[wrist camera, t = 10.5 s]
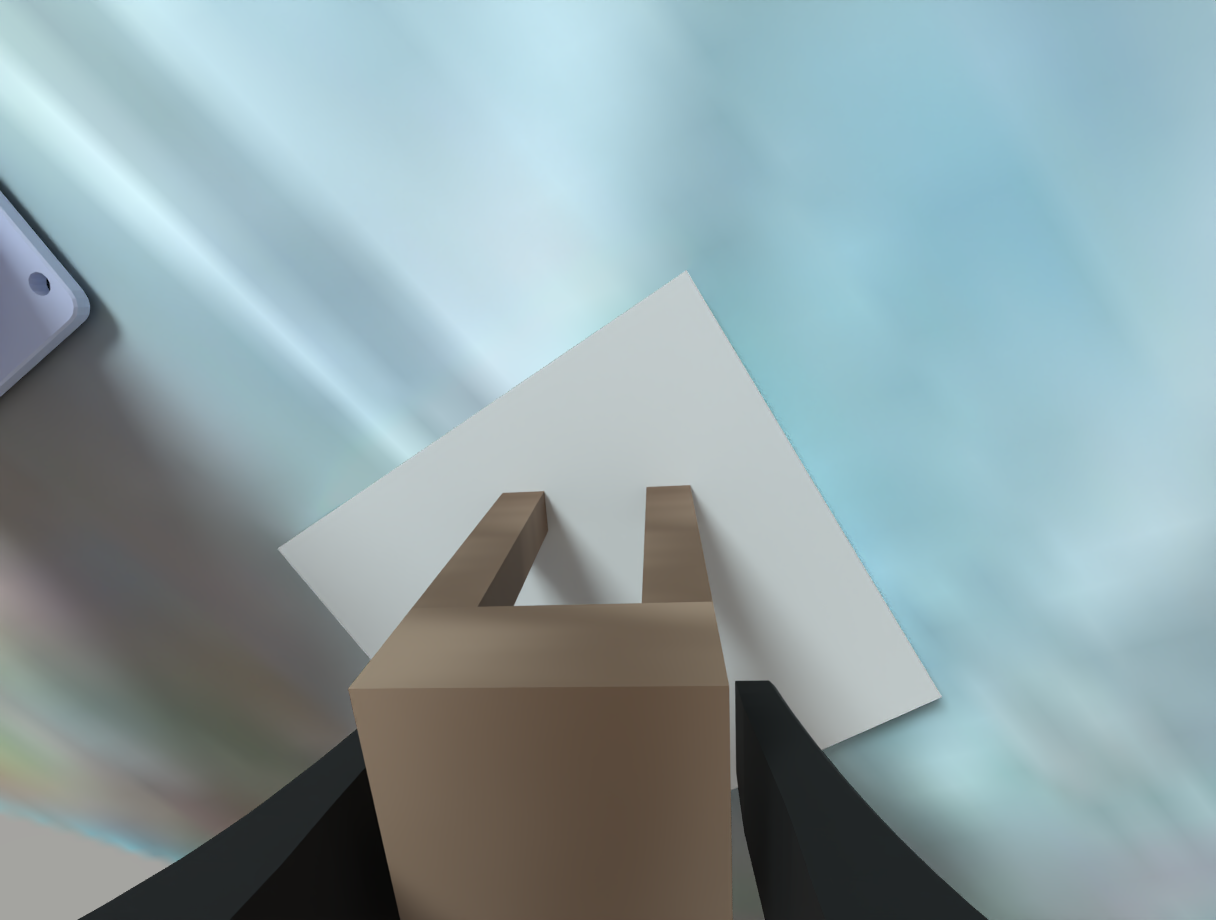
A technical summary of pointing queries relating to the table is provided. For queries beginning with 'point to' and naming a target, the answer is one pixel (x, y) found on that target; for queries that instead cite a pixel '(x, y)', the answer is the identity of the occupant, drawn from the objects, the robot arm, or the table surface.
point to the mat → (639, 516)
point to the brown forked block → (554, 736)
